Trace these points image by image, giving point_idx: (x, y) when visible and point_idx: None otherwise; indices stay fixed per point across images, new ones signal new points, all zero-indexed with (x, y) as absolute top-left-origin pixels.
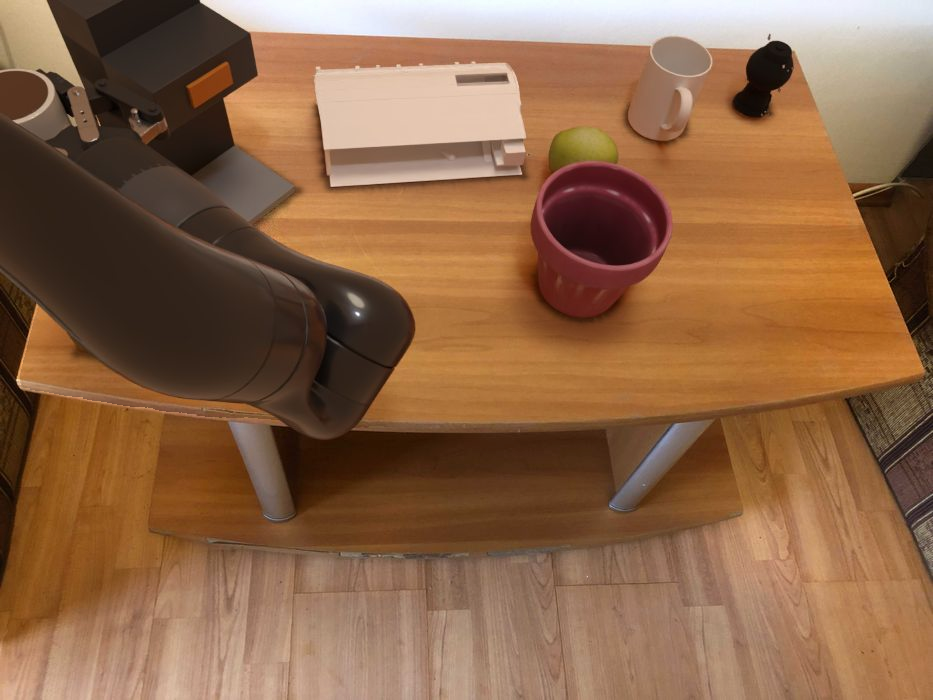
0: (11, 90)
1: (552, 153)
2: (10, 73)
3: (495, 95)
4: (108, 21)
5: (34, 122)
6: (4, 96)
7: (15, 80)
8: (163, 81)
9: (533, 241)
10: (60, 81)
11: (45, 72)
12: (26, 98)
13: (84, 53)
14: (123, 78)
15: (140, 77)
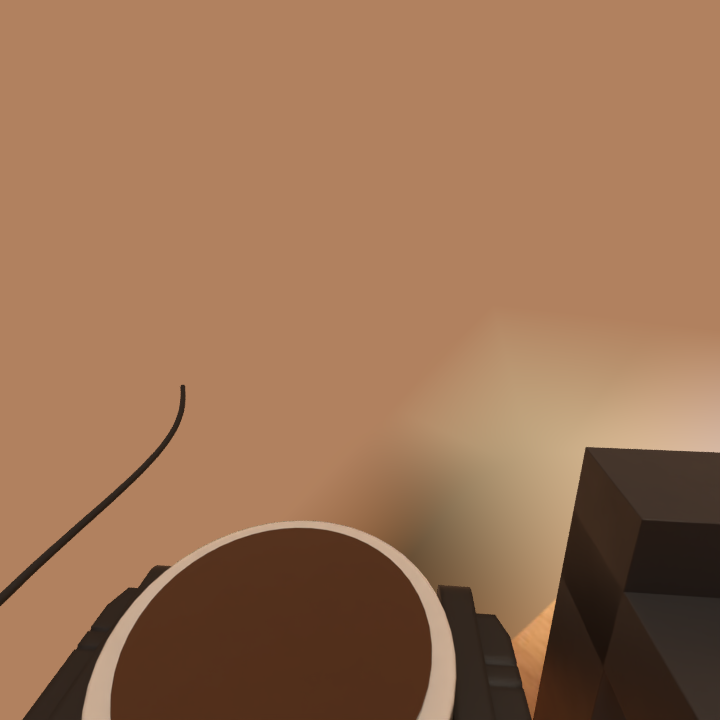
0: (308, 620)
1: None
2: (371, 558)
3: None
4: (684, 544)
5: None
6: (266, 627)
7: (355, 592)
8: None
9: None
10: (501, 681)
11: (475, 615)
12: (301, 707)
13: (593, 561)
14: (654, 663)
15: (707, 700)
